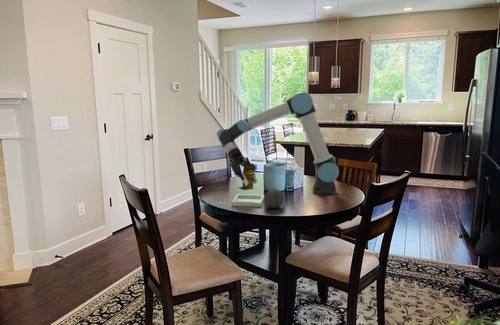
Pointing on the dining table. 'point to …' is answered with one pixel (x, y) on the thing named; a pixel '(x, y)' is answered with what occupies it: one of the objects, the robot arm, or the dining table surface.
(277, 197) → the decorative ball
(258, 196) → the sage tray
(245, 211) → the dining table surface
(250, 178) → the condiment
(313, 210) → the dining table surface
